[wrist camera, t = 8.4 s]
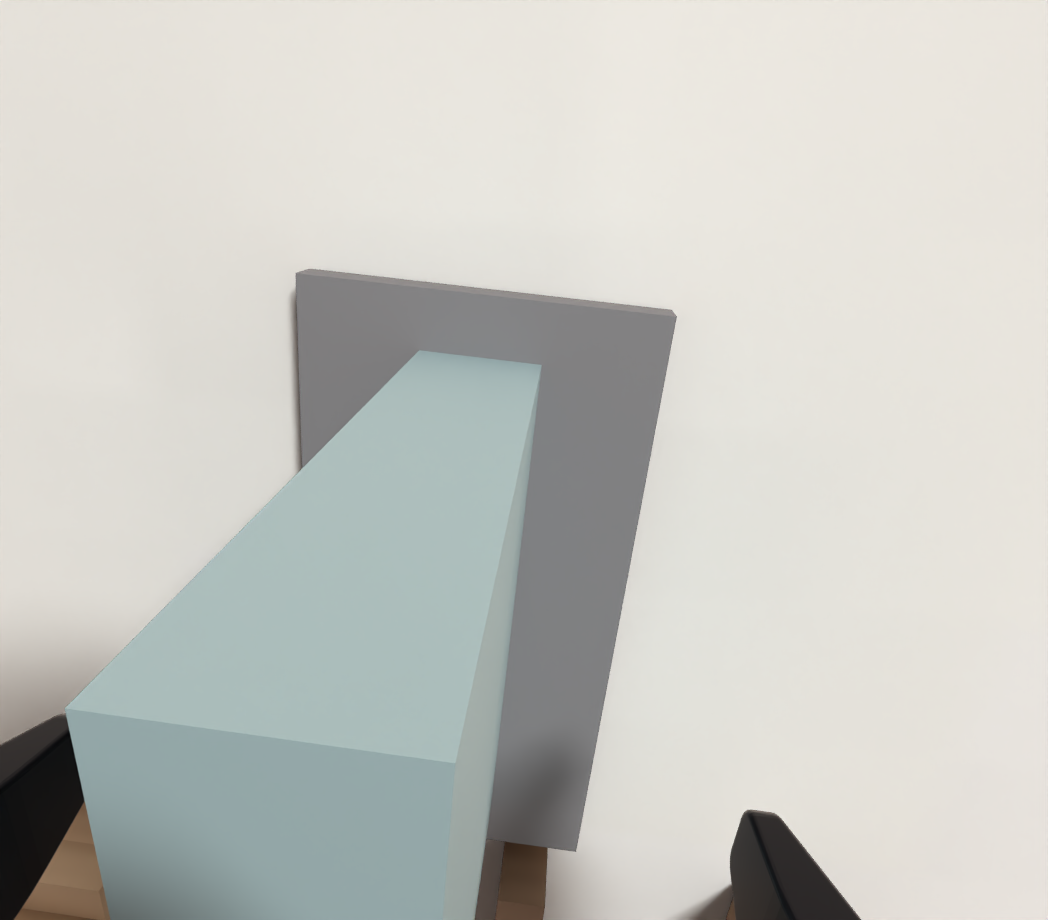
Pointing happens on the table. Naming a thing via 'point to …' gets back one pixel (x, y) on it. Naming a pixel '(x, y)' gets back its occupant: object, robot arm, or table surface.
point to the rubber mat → (552, 495)
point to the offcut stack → (70, 880)
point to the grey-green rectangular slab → (328, 677)
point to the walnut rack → (528, 883)
